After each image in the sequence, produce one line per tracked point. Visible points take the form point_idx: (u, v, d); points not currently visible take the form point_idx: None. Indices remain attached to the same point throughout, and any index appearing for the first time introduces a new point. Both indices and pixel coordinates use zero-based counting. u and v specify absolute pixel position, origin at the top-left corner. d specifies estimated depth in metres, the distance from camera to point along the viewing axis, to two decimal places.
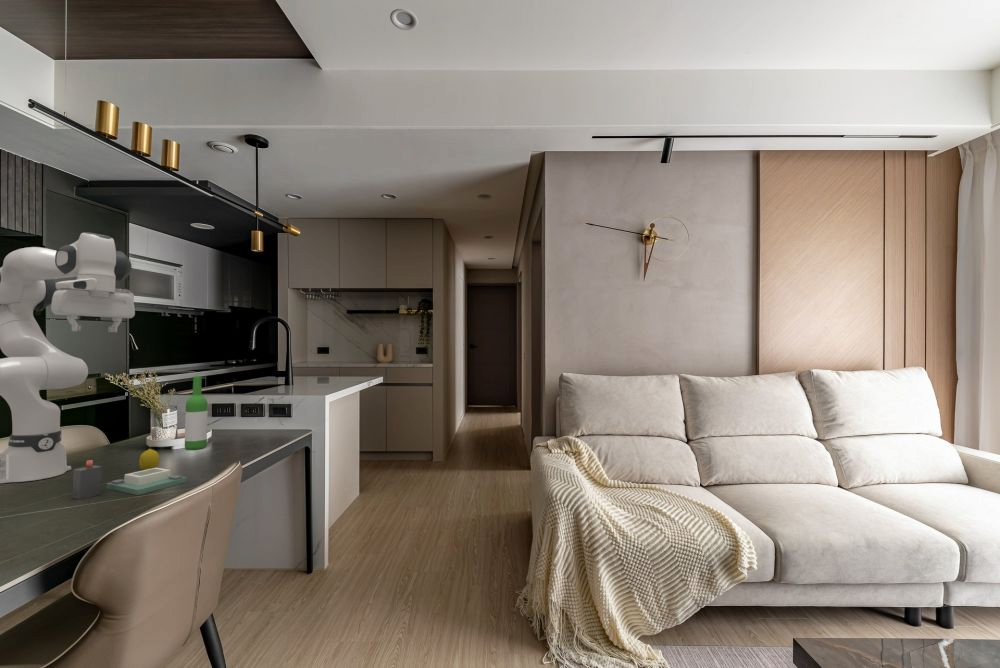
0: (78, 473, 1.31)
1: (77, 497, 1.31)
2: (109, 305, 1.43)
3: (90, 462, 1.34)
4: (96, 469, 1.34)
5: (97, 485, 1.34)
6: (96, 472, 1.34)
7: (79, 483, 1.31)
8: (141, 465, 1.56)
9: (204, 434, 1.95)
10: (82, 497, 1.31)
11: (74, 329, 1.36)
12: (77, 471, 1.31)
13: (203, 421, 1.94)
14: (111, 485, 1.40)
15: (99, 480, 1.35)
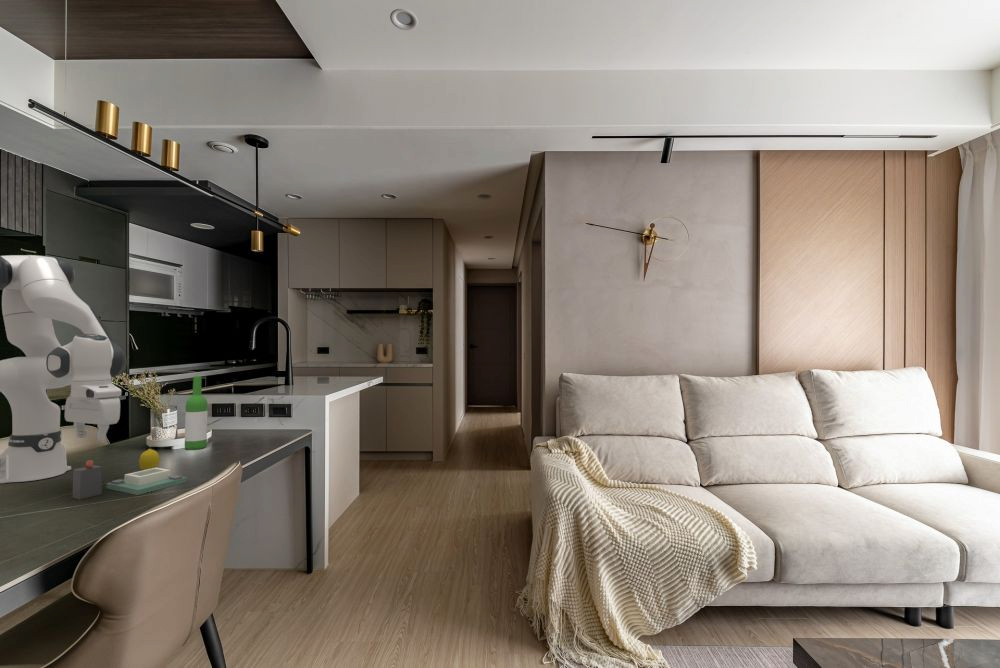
0: (78, 473, 1.31)
1: (77, 497, 1.31)
2: None
3: (90, 462, 1.34)
4: (96, 469, 1.34)
5: (97, 485, 1.34)
6: (96, 472, 1.34)
7: (79, 483, 1.31)
8: (141, 465, 1.56)
9: (204, 434, 1.95)
10: (82, 497, 1.31)
11: (104, 437, 1.32)
12: (77, 471, 1.31)
13: (203, 421, 1.94)
14: (111, 485, 1.40)
15: (99, 480, 1.35)
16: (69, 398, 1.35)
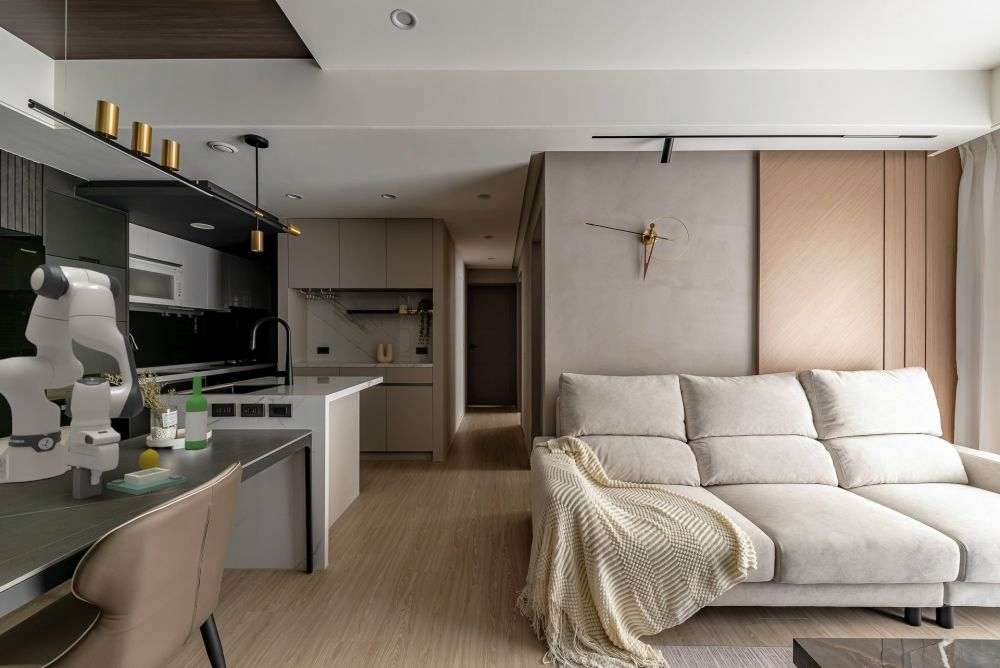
0: (78, 473, 1.31)
1: (77, 497, 1.31)
2: None
3: None
4: None
5: (97, 485, 1.34)
6: None
7: (79, 483, 1.31)
8: (141, 465, 1.56)
9: (204, 434, 1.95)
10: (82, 497, 1.31)
11: (97, 482, 1.33)
12: (77, 471, 1.31)
13: (203, 421, 1.94)
14: (111, 485, 1.40)
15: (99, 480, 1.35)
16: (68, 441, 1.35)
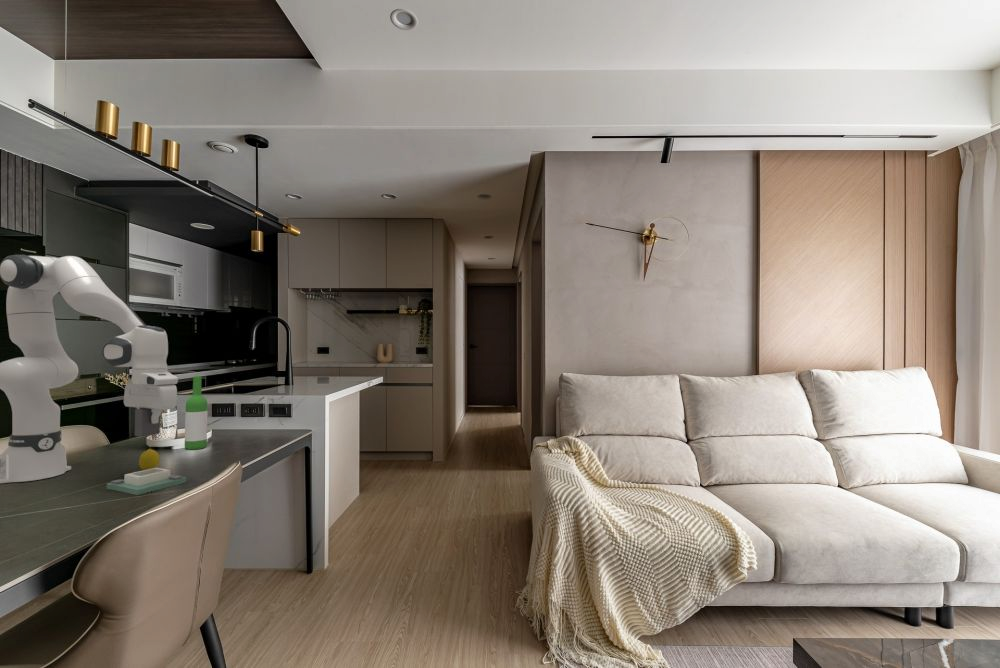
0: (140, 412, 1.41)
1: (139, 434, 1.41)
2: None
3: None
4: None
5: (156, 425, 1.45)
6: None
7: (141, 421, 1.41)
8: (141, 465, 1.56)
9: (204, 434, 1.95)
10: (144, 434, 1.42)
11: (157, 421, 1.44)
12: (139, 410, 1.42)
13: (203, 421, 1.94)
14: (111, 485, 1.40)
15: None
16: (129, 385, 1.46)
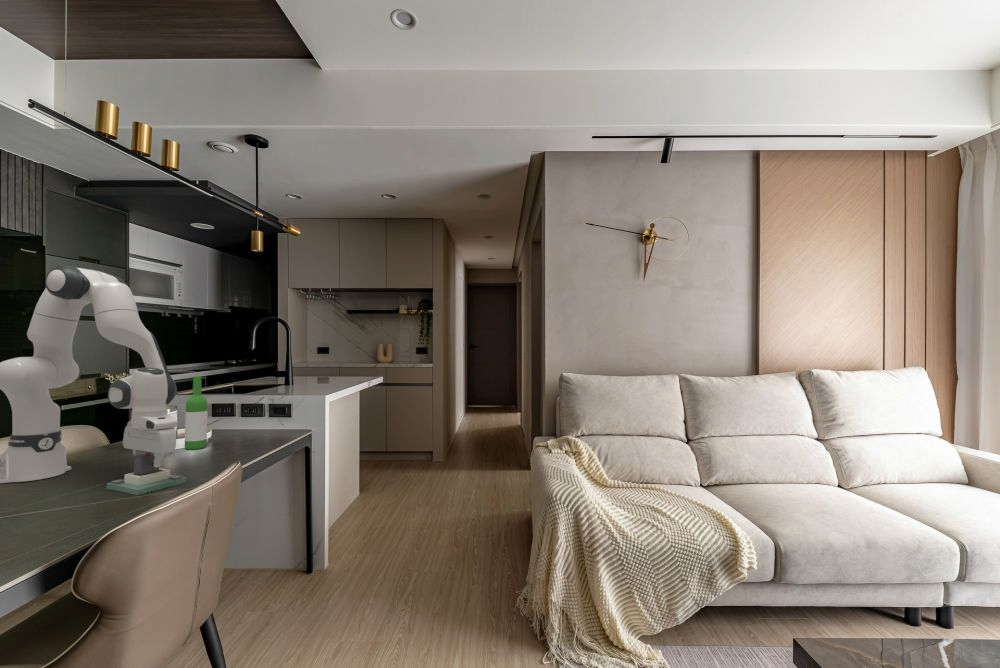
0: (139, 459, 1.41)
1: None
2: None
3: None
4: (154, 456, 1.45)
5: (155, 470, 1.45)
6: (154, 458, 1.45)
7: (140, 468, 1.41)
8: None
9: (204, 434, 1.95)
10: None
11: (159, 465, 1.43)
12: (138, 457, 1.42)
13: (203, 421, 1.94)
14: (111, 485, 1.40)
15: None
16: (128, 427, 1.46)
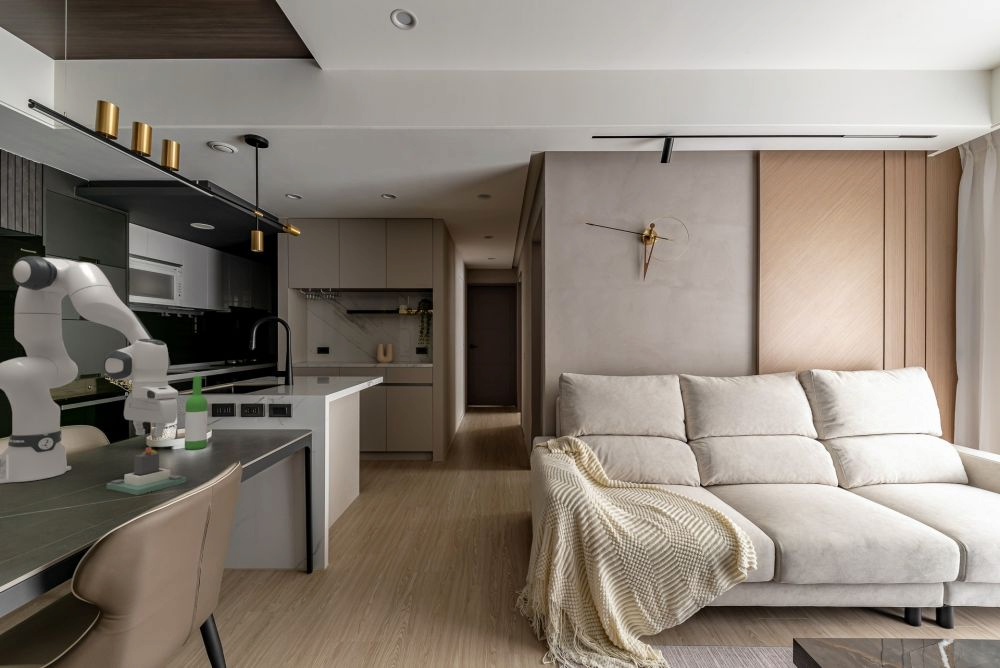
0: (139, 459, 1.41)
1: None
2: None
3: (149, 449, 1.44)
4: (154, 456, 1.45)
5: (155, 470, 1.45)
6: (154, 458, 1.45)
7: (140, 468, 1.41)
8: None
9: (204, 434, 1.95)
10: None
11: (161, 435, 1.43)
12: (138, 457, 1.42)
13: (203, 421, 1.94)
14: (111, 485, 1.40)
15: (157, 466, 1.45)
16: (129, 398, 1.46)
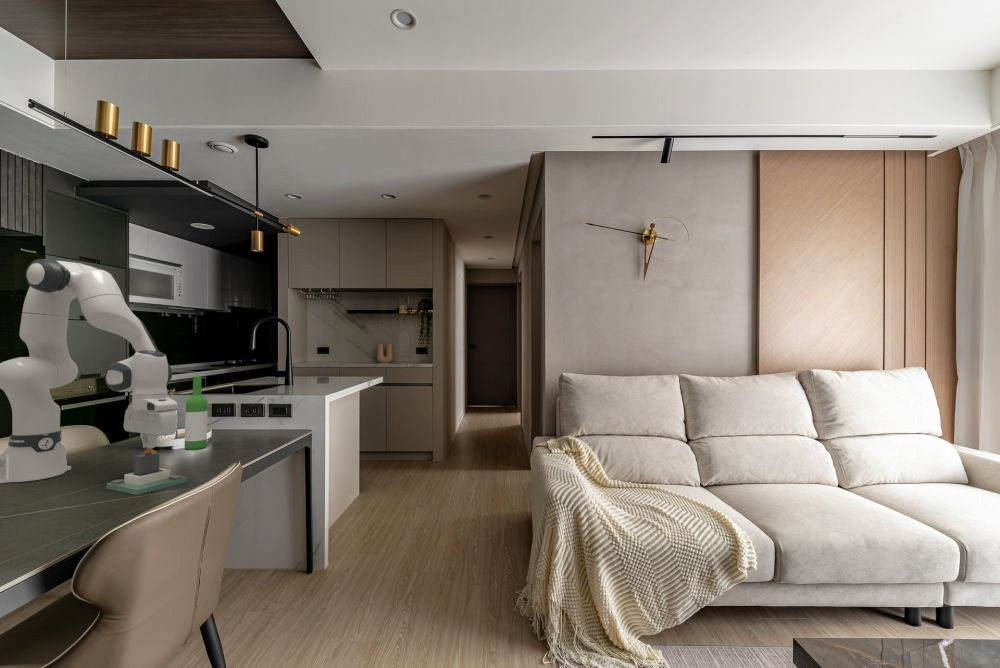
0: (139, 459, 1.41)
1: None
2: None
3: (149, 449, 1.44)
4: (154, 456, 1.45)
5: (155, 470, 1.45)
6: (154, 458, 1.45)
7: (140, 468, 1.41)
8: None
9: (204, 434, 1.95)
10: None
11: (153, 446, 1.44)
12: (138, 457, 1.42)
13: (203, 421, 1.94)
14: (111, 485, 1.40)
15: (157, 466, 1.45)
16: (129, 410, 1.46)
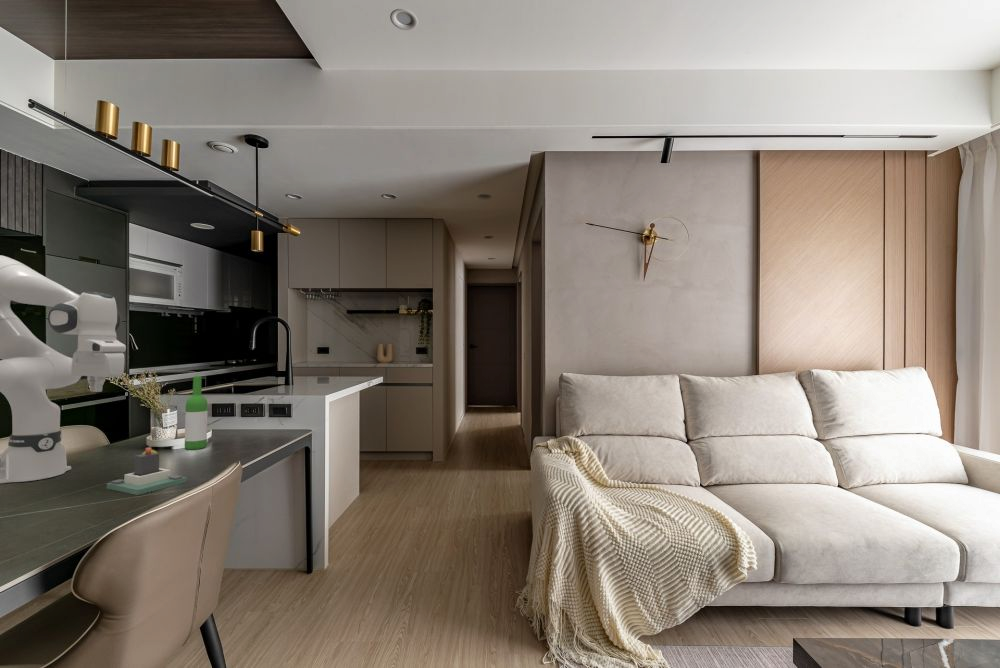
0: (139, 459, 1.41)
1: None
2: None
3: (149, 449, 1.44)
4: (154, 456, 1.45)
5: (155, 470, 1.45)
6: (154, 458, 1.45)
7: (140, 468, 1.41)
8: None
9: (204, 434, 1.95)
10: None
11: (100, 390, 1.40)
12: (138, 457, 1.42)
13: (203, 421, 1.94)
14: (111, 485, 1.40)
15: (157, 466, 1.45)
16: (76, 353, 1.42)
